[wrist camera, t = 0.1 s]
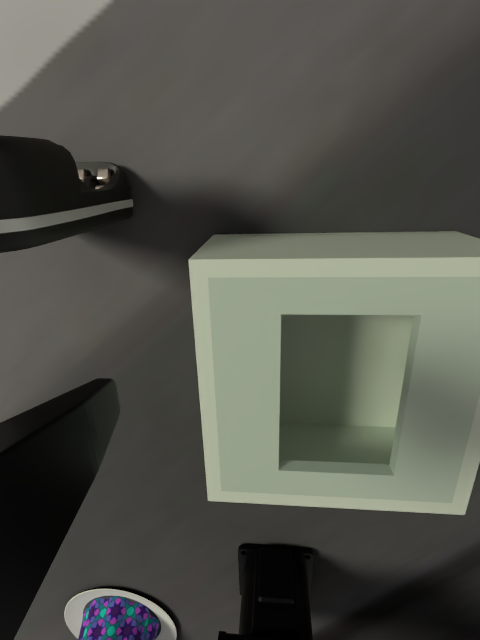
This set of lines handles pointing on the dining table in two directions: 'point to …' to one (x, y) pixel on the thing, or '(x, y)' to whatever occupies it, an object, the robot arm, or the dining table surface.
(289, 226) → the dining table surface
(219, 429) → the open box
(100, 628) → the pudding
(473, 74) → the dining table surface
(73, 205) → the battery charger
